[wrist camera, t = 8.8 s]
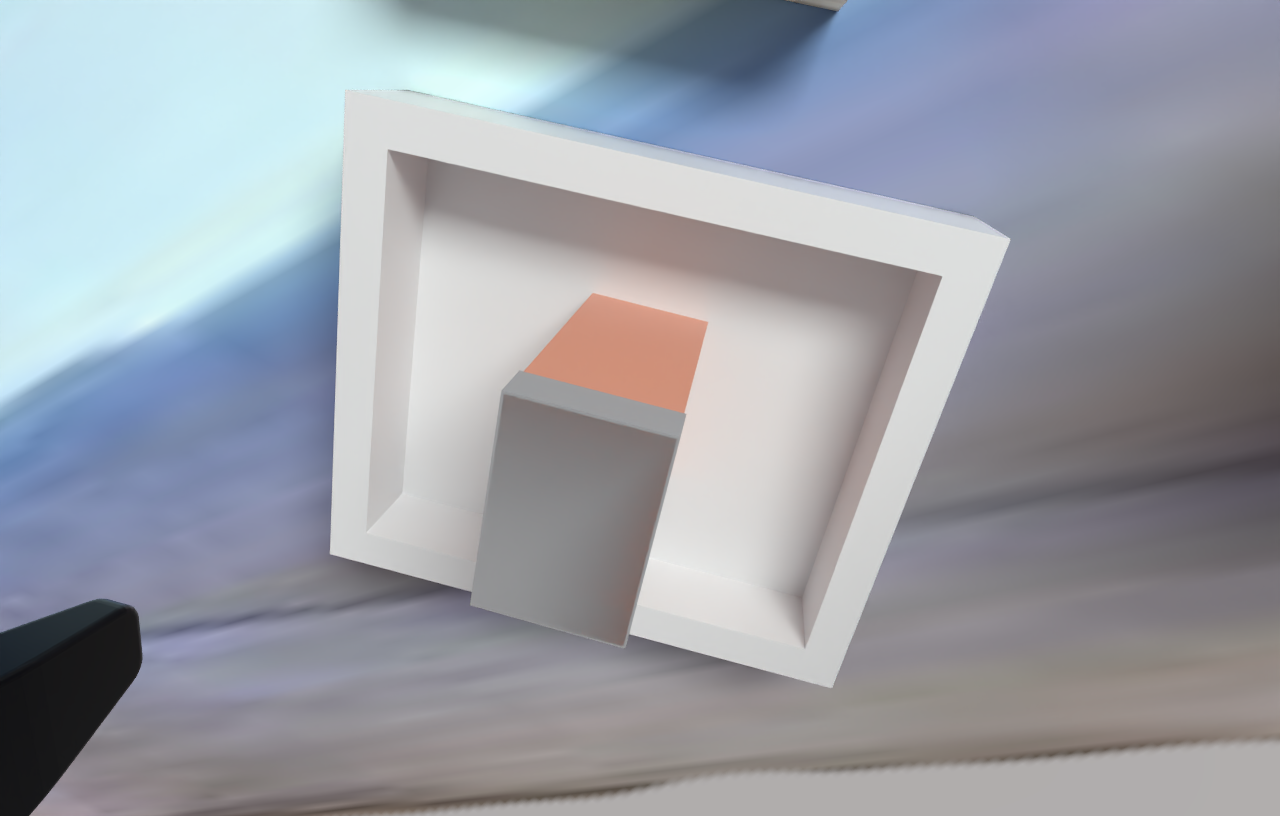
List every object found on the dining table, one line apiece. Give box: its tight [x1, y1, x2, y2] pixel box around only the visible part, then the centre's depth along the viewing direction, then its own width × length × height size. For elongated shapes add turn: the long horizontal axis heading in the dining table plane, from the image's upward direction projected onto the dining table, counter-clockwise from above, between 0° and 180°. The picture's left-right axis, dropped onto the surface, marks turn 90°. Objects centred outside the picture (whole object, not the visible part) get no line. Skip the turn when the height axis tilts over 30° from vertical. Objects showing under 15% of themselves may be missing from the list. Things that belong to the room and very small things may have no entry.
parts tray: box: [330, 90, 1011, 688], centre depth 19 cm, size 14×12×3 cm
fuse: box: [470, 293, 708, 649], centre depth 17 cm, size 3×5×7 cm
